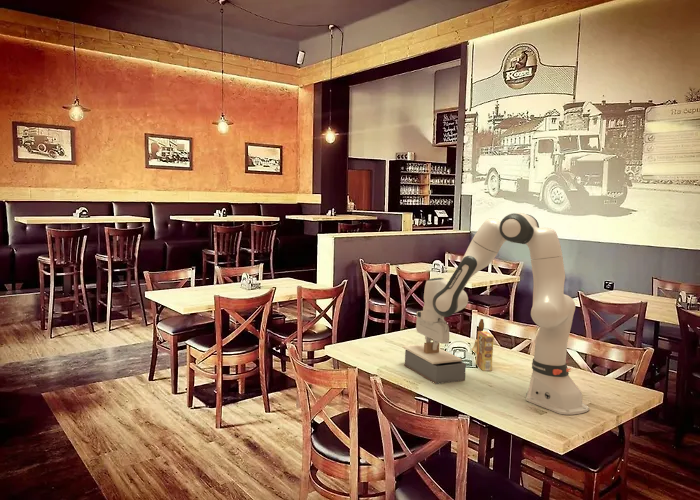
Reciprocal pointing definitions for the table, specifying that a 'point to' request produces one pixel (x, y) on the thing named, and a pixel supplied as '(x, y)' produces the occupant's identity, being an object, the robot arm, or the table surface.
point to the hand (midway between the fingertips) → (431, 348)
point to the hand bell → (481, 327)
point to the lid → (432, 353)
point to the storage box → (436, 369)
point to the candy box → (484, 350)
